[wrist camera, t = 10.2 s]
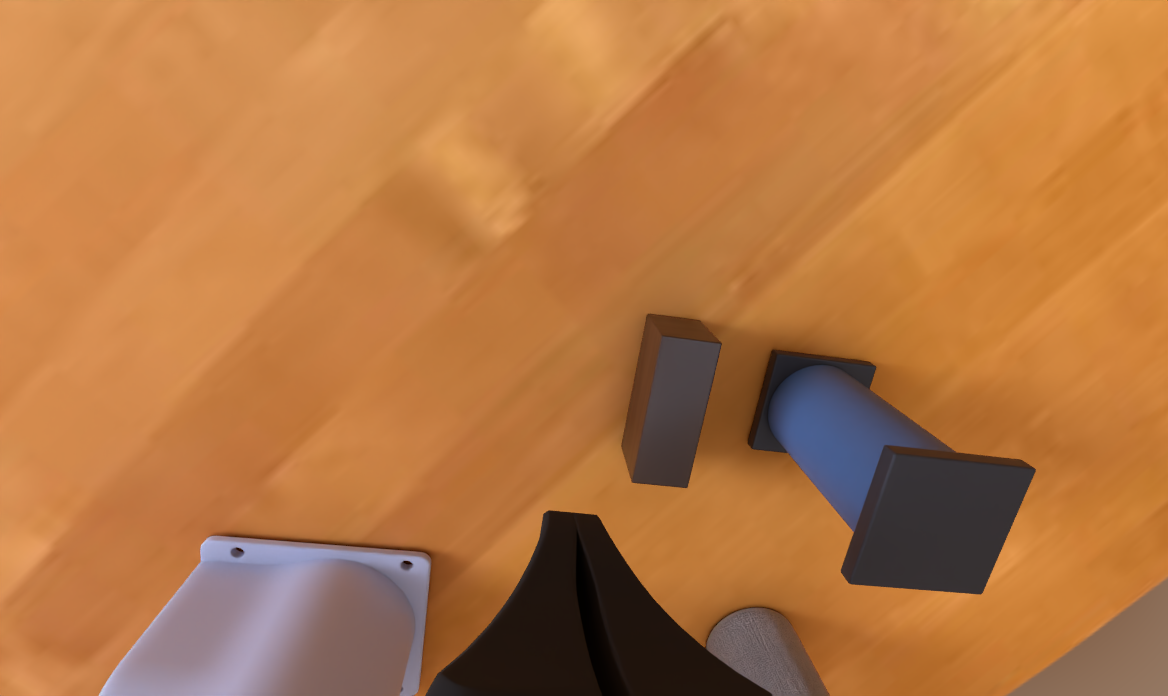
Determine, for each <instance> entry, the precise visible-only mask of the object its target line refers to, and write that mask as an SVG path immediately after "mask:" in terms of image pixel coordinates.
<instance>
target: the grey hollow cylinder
mask: <svg viewBox="0 0 1168 696" xmlns="http://www.w3.org/2000/svg"><path fill="white" fill-rule="evenodd" d="M706 649H707V650H708V651H709V652H710V653H712V654H713V655H714V656H716V657H717V658H718V659H720V660H721V661H722V662H724V663H725V664H727V665H728V666H729V667H731V668H732V669H733V670H735V671H736V672H738V673H739V674H741V675H743V676H744V677H746V678H748V679H749V680H751V681H752V682H754V683H756V684H757V685H759V686H760V687H762V688H764V689H765V690H767V691H769V692H770V693H772V695H773V696H830V695H829V693H828V691H827V689H826V687H825V686H824V684H823V682H822V680H821V678H820V676H819V674H818V673H817V671H816V669H815V667H814V665H813V663H812V661H811V660H810V658H809V656H808V654H807V652H806V650H805V648H804V647H803V645H802V643H801V641H800V639H799V637H798V635H797V634H796V632H795V630H794V629H793V627H792V625H791V624H790V622H789V621H788V620H787V619H786V618H785V617H784V616H783V615H781V614H780V613H778V612H776V611H773V610H770V609H766V608H748V609H743V610H740V611H737V612H734V613H732V614H730V615H729V616H727V617H725V618H724V619H723V620H721V621H720V622H719V623H718V624H717V625H716V626H715V627H714V629H713V630H712V632H711V633H710V635H709V637H708V640H707V644H706Z"/></svg>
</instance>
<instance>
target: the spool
mask: <svg viewBox="0 0 1168 696" xmlns="http://www.w3.org/2000/svg"><path fill="white" fill-rule="evenodd" d="M875 370H876V366H875V365H873V364H872V363H870V362H866V361H858V360H850V359H842V358H835V357H827V356H819V355H811V354H804V353H796V352H788V351H780V350H773V351H772V354H771V358H770V361H769V365H768V369H767V373H766V376H765V380H764V384H763V388H762V391H761V395H760V399H759V403H758V406H757V410H756V414H755V418H754V421H753V425H752V429H751V433H750V436H749V440H748V444H749V446H750V447H751V448H752V449H755V450H764V451H774V452H783V453H789V455H790V456H791V457H792V458H793V459H794V461H795V462H796V463H797V464H798V465H799V467H800V468H801V469H802V470H803V471H804V473H805V474H806V475H807V476H808V477H809V479H810V480H811V481H812V482H813V483H814V485H815V486H816V487H817V488H818V490H819V491H820V492H821V493H822V494H823V496H824V497H825V498H826V499H827V500H828V502H829V503H830V504H831V505H832V506H833V508H834V509H835V510H836V511H837V512H838V514H839V515H840V516H841V517H842V518H843V520H844V521H845V522H846V523H847V524H848V526H849V527H850V528H851V529H852V530H853V532H854V534H853V536H852V539H851V542H850V545H849V548H848V551H847V554H846V557H845V560H844V563H843V566H842V569H841V573H842V574H843V576H844V577H845V579H846V580H847V581H848V583H850V584H854V585H867V586H880V587H893V588H905V589H918V590H931V591H944V592H956V593H969V594H982V593H983V591H984V588H985V586H986V584H987V581H988V579H989V577H990V574H991V572H992V570H993V568H994V565H995V563H996V561H997V558H998V556H999V554H1000V552H1001V549H1002V547H1003V545H1004V542H1005V540H1006V538H1007V535H1008V533H1009V531H1010V529H1011V526H1012V524H1013V522H1014V519H1015V517H1016V515H1017V513H1018V510H1019V508H1020V506H1021V503H1022V501H1023V499H1024V496H1025V494H1026V492H1027V490H1028V487H1029V485H1030V483H1031V480H1032V478H1033V476H1034V474H1035V471H1036V469H1035V468H1033V467H1032V466H1030V465H1029V464H1027V463H1026V462H1024V461H1022V460H1019V459H1010V458H1001V457H992V456H983V455H974V454H965V453H956V452H955V451H954V450H952V449H951V448H950V447H948V446H947V445H945V444H944V443H943V442H941V441H940V440H939V439H937V438H936V437H934V436H933V435H932V434H930V433H929V432H927V431H926V430H925V429H923V428H922V427H921V426H919V425H918V424H916V423H915V422H914V421H912V420H911V419H910V418H908V417H907V416H905V415H904V414H903V413H901V412H900V411H899V410H897V409H896V408H894V407H893V406H892V405H890V404H889V403H887V402H886V401H885V400H883V399H882V398H881V397H879V396H878V395H876V394H875V393H874V392H872V391H871V390H870V385H871V382H872V379H873V376H874V373H875Z"/></svg>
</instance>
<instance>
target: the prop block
mask: <svg viewBox="0 0 1168 696" xmlns="http://www.w3.org/2000/svg"><path fill="white" fill-rule="evenodd" d="M721 345H722V343H721V342H720V341H719V340H718V339H717V338H716V337H715V336H714V335H713V334H712V333H711V332H710V331H709V330H708V328H707V327H706V326H705V325H704V324H703V323H702V322H701V321H698V320H691V319H684V318H676V317H669V316H661V315H654V314H647V317H646V323H645V328H644V333H643V338H642V343H641V348H640V353H639V358H638V363H637V369H636V374H635V379H634V384H633V389H632V394H631V399H630V404H629V410H628V415H627V420H626V425H625V430H624V435H623V440H622V445H621V447H622V450H623V454H624V457H625V460H626V464H627V467H628V471H629V474H630V478H631V481H632V483H640V484H651V485H661V486H671V487H681V488H687V487H688V483H689V479H690V475H691V471H692V467H693V462H694V458H695V454H696V450H697V446H698V441H699V437H700V433H701V429H702V425H703V420H704V416H705V412H706V408H707V404H708V399H709V395H710V391H711V387H712V383H713V378H714V374H715V370H716V366H717V362H718V358H719V353H720V349H721Z"/></svg>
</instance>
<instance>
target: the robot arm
mask: <svg viewBox="0 0 1168 696" xmlns="http://www.w3.org/2000/svg"><path fill="white" fill-rule="evenodd" d="M236 547H238V548H241V549H242V550H243V551H244V552H240V551H238V550H237V549H236ZM200 550H201V562H200V563H199V565H198V566H197V567H196V568H195V570H194V571H193V572H192V573H191V574H190V576H189V577H188V578H187V579H186V581H185V582H184V583H183V584H182V586H181V587H180V588H179V589H178V591H177V592H176V593H175V594H174V596H173V597H172V598H171V599H170V601H169V602H168V603H167V604H166V606H165V607H164V608H163V609H162V611H161V612H160V613H159V614H158V616H157V617H156V618H155V619H154V621H153V622H152V623H151V624H150V626H149V627H148V628H147V629H146V631H145V632H144V633H143V634H142V636H141V637H140V638H139V639H138V641H137V642H136V643H135V644H134V646H133V647H132V648H131V649H130V651H129V652H128V653H127V654H126V656H125V657H124V658H123V659H122V661H121V662H120V663H119V664H118V666H117V667H116V669H115V670H114V671H113V673H112V674H111V676H110V677H109V679H108V680H107V682H106V684H105V685H104V687H103V688H102V690H101V692H100V694H99V696H413V695H415V694H416V693H417V692H418V690H419V686H420V677H421V667H422V656H423V645H424V635H425V624H426V614H427V603H428V592H429V582H430V571H431V558H430V557H429V555H427V554H426V553H423V552H416V551H403V550H391V549H378V548H365V547H353V546H340V545H328V544H315V543H303V542H290V541H277V540H265V539H252V538H240V537H227V536H210V537H208V538H207V539H206V540H205V541H204V543H203V544H202V545H201V549H200ZM403 561H410V562H411V563H412V564H410V565H407V564H405V563H404V562H403ZM425 696H773V695H772V693H770V692H769V691H767V690H765V689H764V688H762V687H760V686H759V685H757V684H756V683H754V682H752V681H751V680H749V679H748V678H746V677H744V676H743V675H741V674H739V673H738V672H736V671H735V670H733V669H732V668H731V667H729V666H728V665H727V664H725V663H724V662H722V661H721V660H720V659H718V658H717V657H716V656H714V655H713V654H712V653H710V652H709V651H708V650H707V649H705V648H704V647H703V646H702V645H700V644H699V643H698V642H697V641H696V640H695V639H694V638H692V637H691V636H690V635H689V634H688V633H687V632H686V631H684V630H683V629H682V628H681V627H680V626H679V625H678V624H677V623H676V622H675V621H674V620H673V619H672V618H671V617H670V616H669V615H668V614H667V613H666V612H665V611H664V610H663V609H662V608H661V606H660V605H659V604H658V603H657V602H656V601H655V600H654V599H653V598H652V596H651V595H650V594H649V593H648V591H647V590H646V589H645V588H644V586H643V585H642V584H641V582H640V581H639V580H638V578H637V577H636V576H635V574H634V573H633V571H632V570H631V569H630V567H629V566H628V564H627V563H626V561H625V560H624V558H623V557H622V555H621V554H620V552H619V551H618V549H617V547H616V546H615V544H614V543H613V541H612V539H611V538H610V536H609V534H608V532H607V531H606V529H605V527H604V525H603V524H602V522H601V520H600V519H599V517H598V516H597V515H591V514H581V513H571V512H560V511H550V510H549V511H547V512H546V513H544V514H543V521H542V527H541V533H540V538H539V541H538V544H537V546H536V549H535V551H534V553H533V556H532V558H531V560H530V562H529V564H528V566H527V568H526V570H525V572H524V574H523V576H522V577H521V579H520V581H519V583H518V585H517V586H516V588H515V590H514V591H513V593H512V594H511V596H510V597H509V599H508V600H507V602H506V603H505V605H504V606H503V607H502V609H501V610H500V611H499V613H498V614H497V615H496V617H495V618H494V619H493V620H492V622H491V623H490V624H489V625H488V626H487V628H486V629H485V630H484V631H483V632H482V633H481V634H480V635H479V636H478V637H477V638H476V639H475V641H474V642H473V643H472V644H471V645H470V646H469V647H468V648H467V649H466V650H465V651H464V652H463V653H462V654H461V655H460V656H458V657H457V658H456V659H455V660H454V661H452V662H451V663H450V664H449V665H448V666H446V667H445V668H444V669H443V670H442V671H441V672H439V673H438V674H437V676H436V678H435V679H434V681H433V683H432V684H431V686H430V688H429V690H428V692H427V693H426V695H425Z"/></svg>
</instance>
